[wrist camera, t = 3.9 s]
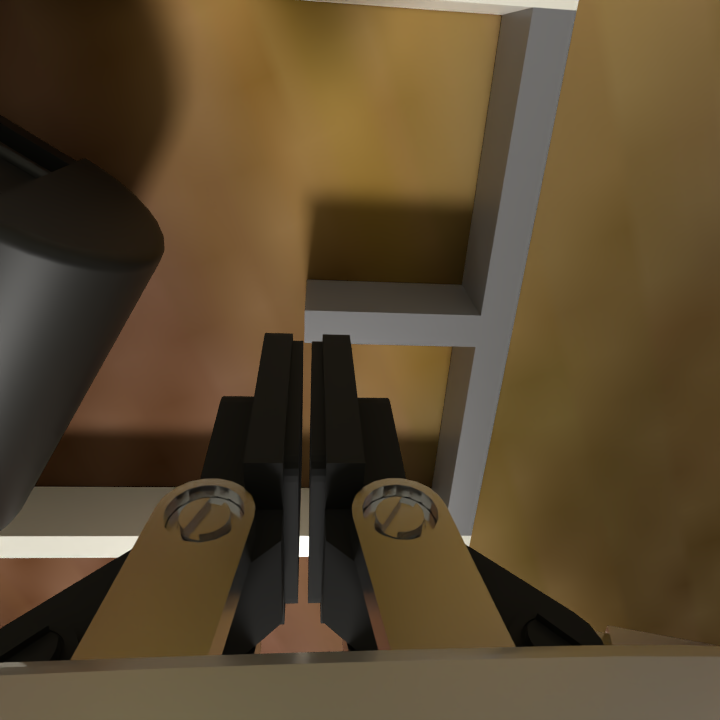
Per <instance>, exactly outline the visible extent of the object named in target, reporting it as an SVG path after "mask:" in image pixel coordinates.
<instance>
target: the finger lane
mask: <svg viewBox="0 0 720 720" xmlns="http://www.w3.org/2000/svg"><path fill="white" fill-rule="evenodd" d="M303 1H317V2H331V3H345V4H359V5H373V6H386V7H400V8H414V9H428V10H442V11H455V12H469V13H483V14H497V15H502V19H501V26H500V32H499V39H498V46H497V53H496V59H495V66H494V73H493V79H492V86H491V93H490V100H489V106H488V113H487V120H486V127H485V133H484V140H483V147H482V153H481V160H480V167H479V174H478V180H477V187H476V194H475V200H474V207H473V214H472V221H471V227H470V234H469V241H468V247H467V254H466V261H465V268H464V274H463V281H462V285H453V284H423V283H394V282H364V281H335V280H307V288H306V302H305V343H312V341H322V337H323V334H332V335H350V340H351V344H378V345H417V346H453V348H452V355H451V362H450V368H449V375H448V382H447V388H446V395H445V402H444V409H443V415H442V422H441V429H440V435H439V442H438V449H437V456H436V462H435V469H434V476H433V483H432V490H433V491H434V492H435V493H437V494H438V495H439V496H440V497H441V499H442V500H443V502H444V503H445V504H446V506H447V508H448V510H449V512H450V514H451V516H452V518H453V520H454V522H455V524H456V526H457V528H458V530H459V533H460V535H461V537H462V539H463V541H464V543H465V544H466V545H467V546H469V544H470V539H471V534H472V529H473V524H474V519H475V514H476V509H477V504H478V499H479V494H480V489H481V484H482V479H483V474H484V469H485V464H486V459H487V454H488V449H489V444H490V439H491V434H492V429H493V424H494V419H495V414H496V410H497V405H498V400H499V395H500V390H501V385H502V380H503V375H504V370H505V365H506V360H507V355H508V350H509V345H510V340H511V335H512V330H513V325H514V320H515V315H516V310H517V305H518V300H519V295H520V290H521V285H522V280H523V275H524V270H525V265H526V260H527V255H528V250H529V245H530V240H531V235H532V230H533V225H534V220H535V215H536V210H537V205H538V200H539V195H540V190H541V185H542V180H543V175H544V170H545V165H546V160H547V155H548V150H549V145H550V140H551V135H552V130H553V125H554V120H555V115H556V111H557V106H558V101H559V96H560V91H561V86H562V81H563V76H564V71H565V66H566V61H567V56H568V51H569V46H570V41H571V36H572V31H573V26H574V21H575V16H576V11H577V6H578V1H579V0H303ZM175 488H176V487H34V488H33V490H32V491H31V493H30V495H29V497H28V499H27V500H26V502H25V504H24V506H23V507H22V509H21V511H20V512H19V513H18V514H17V515H16V517H15V518H14V519H13V520H12V521H11V522H10V524H9V525H8V526H6V527H5V528H4V529H3V530H1V531H0V558H109V557H119V556H121V555H123V554H124V553H126V552H128V551H129V550H131V549H132V548H133V546H134V544H135V542H136V541H137V539H138V537H139V535H140V533H141V532H142V530H143V528H144V526H145V524H146V523H147V521H148V519H149V517H150V515H151V514H152V512H153V510H154V508H155V507H156V505H157V504H158V503H159V502H160V500H161V499H162V498H163V497H164V496H165V495H166V494H168V493H169V492H170V491H172V490H173V489H175ZM299 557H309V488H301V508H300V542H299Z"/></svg>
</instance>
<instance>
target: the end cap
mask: <svg viewBox="0 0 720 720" xmlns="http://www.w3.org/2000/svg"><path fill="white" fill-rule="evenodd" d="M163 253H164V237H163V234H162V232H161V229H160V227H159V225H158V222H157V221H156V219H155V218H154V217H153V215H152V214H151V212H150V211H149V210H148V209H147V208H146V206H145V205H144V204H143V203H142V202H141V201H140V200H139V199H138V198H137V197H136V196H135V195H134V194H133V193H132V192H130V191H129V190H128V189H127V188H126V187H125V186H124V185H122V184H121V183H120V182H119V181H117V180H116V179H115V178H113V177H112V176H111V175H109V174H108V173H107V172H105V171H104V170H102V169H101V168H99V167H98V166H96V165H95V164H93V163H92V162H90V161H89V160H87V159H86V158H84V159H82V160H79V161H75V160H74V159H72V158H70V157H69V156H67V155H65V154H64V153H62V152H60V151H59V150H57V149H56V148H54V147H52V146H51V145H49V144H47V143H46V142H44V141H42V140H41V139H39V138H38V137H36V136H34V135H33V134H31V133H29V132H28V131H26V130H24V129H23V128H21V127H19V126H18V125H16V124H15V123H13V122H11V121H10V120H8V119H6V118H5V117H3V116H1V115H0V531H1V530H3V529H4V528H5V527H6V526H8V525H9V524H10V522H11V521H12V520H13V519H14V518H15V517H16V515H17V514H18V513H19V512H20V511H21V509H22V507H23V506H24V504H25V502H26V500H27V499H28V497H29V495H30V493H31V491H32V490H33V488H34V486H35V484H36V482H37V481H38V479H39V477H40V475H41V473H42V472H43V470H44V468H45V466H46V464H47V463H48V461H49V459H50V457H51V456H52V454H53V452H54V450H55V448H56V447H57V445H58V443H59V441H60V439H61V438H62V436H63V434H64V432H65V430H66V429H67V427H68V425H69V423H70V421H71V420H72V418H73V416H74V414H75V412H76V411H77V409H78V407H79V405H80V404H81V402H82V400H83V398H84V396H85V395H86V393H87V391H88V389H89V387H90V386H91V384H92V382H93V380H94V378H95V377H96V375H97V373H98V371H99V369H100V368H101V366H102V364H103V362H104V361H105V359H106V357H107V355H108V353H109V352H110V350H111V348H112V346H113V344H114V343H115V341H116V339H117V337H118V335H119V334H120V332H121V330H122V328H123V326H124V325H125V323H126V321H127V319H128V318H129V316H130V314H131V312H132V310H133V309H134V307H135V305H136V303H137V301H138V300H139V298H140V296H141V294H142V292H143V291H144V289H145V287H146V285H147V283H148V282H149V280H150V278H151V276H152V275H153V273H154V271H155V269H156V267H157V266H158V264H159V262H160V260H161V257H162V255H163Z"/></svg>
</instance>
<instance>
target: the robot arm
mask: <svg viewBox="0 0 720 720" xmlns="http://www.w3.org/2000/svg"><path fill="white" fill-rule="evenodd" d="M302 410H303V341H293V334H283V333H265V336H264V342H263V348H262V353H261V359H260V365H259V371H258V377H257V383H256V389H255V395H254V397H243V396H223V397H222V399H221V401H220V405H219V409H218V413H217V417H216V420H215V424H214V428H213V432H212V436H211V440H210V443H209V447H208V451H207V455H206V459H205V463H204V467H203V470H202V474H201V478H200V480H196V481H191V482H188V483H186V484H183V485H181V486H179V487H176V488H175V489H173V490H172V491H170V492H169V493H168V494H166V495H165V496H164V497H163V498H162V499H161V500H160V502H159V503H158V504H157V505H156V507H155V508H154V510H153V512H152V514H151V515H150V517H149V519H148V521H147V523H146V524H145V526H144V528H143V530H142V532H141V533H140V535H139V537H138V539H137V541H136V542H135V544H134V546H133V548H132V549H131V550H129V551H128V552H126V553H124V554H123V555H121V556H119V557H118V558H116V559H114V560H113V561H111V562H110V563H108V564H106V565H105V566H103V567H101V568H100V569H98V570H96V571H95V572H93V573H91V574H90V575H88V576H86V577H85V578H83V579H81V580H80V581H78V582H76V583H75V584H73V585H71V586H70V587H68V588H67V589H65V590H63V591H62V592H60V593H58V594H57V595H55V596H53V597H52V598H50V599H48V600H47V601H45V602H43V603H42V604H40V605H38V606H37V607H35V608H33V609H32V610H30V611H28V612H27V613H25V614H24V615H22V616H20V617H19V618H17V619H15V620H14V621H12V622H10V623H9V624H7V625H5V626H4V627H2V628H1V629H0V720H720V646H717V645H712V644H706V643H701V642H695V641H690V640H685V639H679V638H674V637H668V636H663V635H658V634H652V633H647V632H641V631H636V630H630V629H625V628H620V627H614V626H609V625H608V626H607V628H606V631H605V633H602V632H597V631H594V630H593V628H592V627H591V626H590V625H589V624H588V623H587V622H586V621H584V620H583V619H582V618H580V617H579V616H578V615H577V614H575V613H574V612H572V611H571V610H569V609H568V608H566V607H564V606H563V605H561V604H560V603H558V602H557V601H555V600H553V599H552V598H550V597H549V596H547V595H545V594H544V593H542V592H541V591H539V590H537V589H536V588H534V587H533V586H531V585H529V584H528V583H526V582H525V581H523V580H521V579H520V578H518V577H517V576H515V575H513V574H512V573H510V572H509V571H507V570H506V569H504V568H502V567H501V566H499V565H498V564H496V563H494V562H493V561H491V560H490V559H488V558H486V557H485V556H483V555H482V554H480V553H478V552H477V551H475V550H474V549H472V548H470V547H469V546H467V545H466V544H465V543H464V541H463V539H462V537H461V535H460V533H459V530H458V528H457V526H456V524H455V522H454V520H453V518H452V516H451V514H450V512H449V510H448V508H447V506H446V504H445V503H444V502H443V500H442V499H441V497H440V496H439V495H438V494H437V493H435V492H434V491H433V490H432V489H430V488H429V487H427V486H425V485H423V484H420V483H418V482H416V481H412V480H407V479H406V476H405V471H404V467H403V462H402V457H401V452H400V448H399V443H398V438H397V433H396V428H395V424H394V419H393V414H392V409H391V405H390V401H389V399H388V398H357V390H356V382H355V373H354V365H353V357H352V348H351V340H350V335H332V334H323V337H322V341H312V363H311V415H310V473H309V564H308V603H320V611H321V623H325V624H326V625H327V626H328V627H329V628H331V629H332V630H333V631H334V632H335V633H336V634H338V635H339V636H340V637H341V638H342V639H343V641H342V645H343V651H342V652H307V653H273V654H260V653H261V640H263V639H264V638H265V637H266V636H267V635H268V634H269V633H271V632H272V631H273V630H274V629H275V628H276V627H278V626H279V625H280V624H284V620H285V604H288V603H298V576H299V542H300V508H301V474H302Z"/></svg>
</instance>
